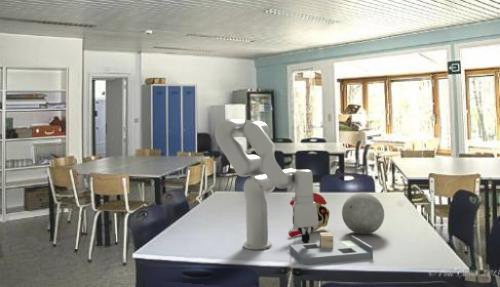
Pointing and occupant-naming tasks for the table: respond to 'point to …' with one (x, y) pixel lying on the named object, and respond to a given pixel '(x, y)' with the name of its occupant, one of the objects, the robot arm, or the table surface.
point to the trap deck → (332, 251)
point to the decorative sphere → (363, 213)
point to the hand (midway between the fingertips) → (305, 242)
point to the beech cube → (326, 240)
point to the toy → (321, 210)
